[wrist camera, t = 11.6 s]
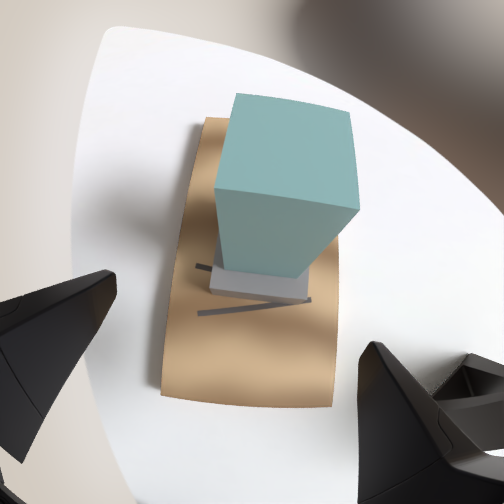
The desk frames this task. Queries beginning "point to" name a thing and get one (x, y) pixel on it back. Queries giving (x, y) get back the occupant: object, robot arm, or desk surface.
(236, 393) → the oak board
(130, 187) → the desk surface
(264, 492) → the desk surface
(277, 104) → the block
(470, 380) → the phone stand
